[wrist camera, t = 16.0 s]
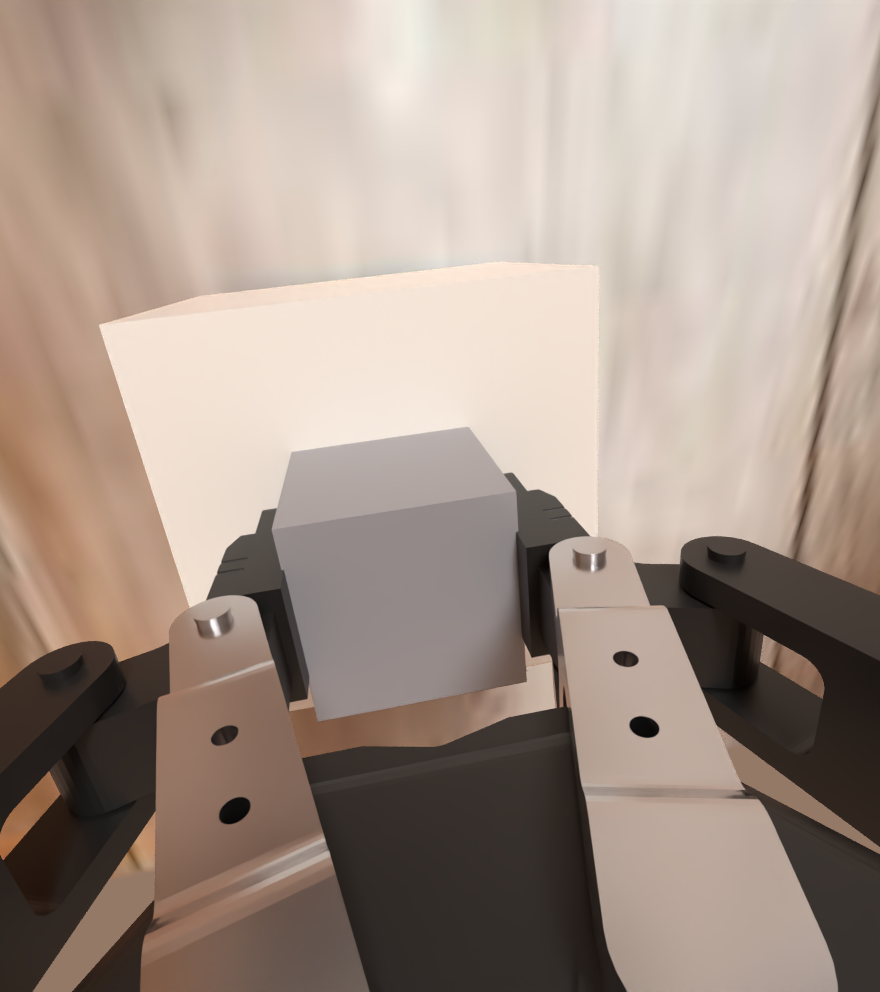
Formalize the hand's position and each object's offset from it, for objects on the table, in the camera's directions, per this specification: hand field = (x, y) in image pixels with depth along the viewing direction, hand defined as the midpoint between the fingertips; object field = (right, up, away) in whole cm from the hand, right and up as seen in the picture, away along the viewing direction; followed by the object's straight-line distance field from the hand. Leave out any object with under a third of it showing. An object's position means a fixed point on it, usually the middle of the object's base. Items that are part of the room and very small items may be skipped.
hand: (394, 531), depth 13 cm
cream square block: (-1, +4, +9) cm, 10 cm away
